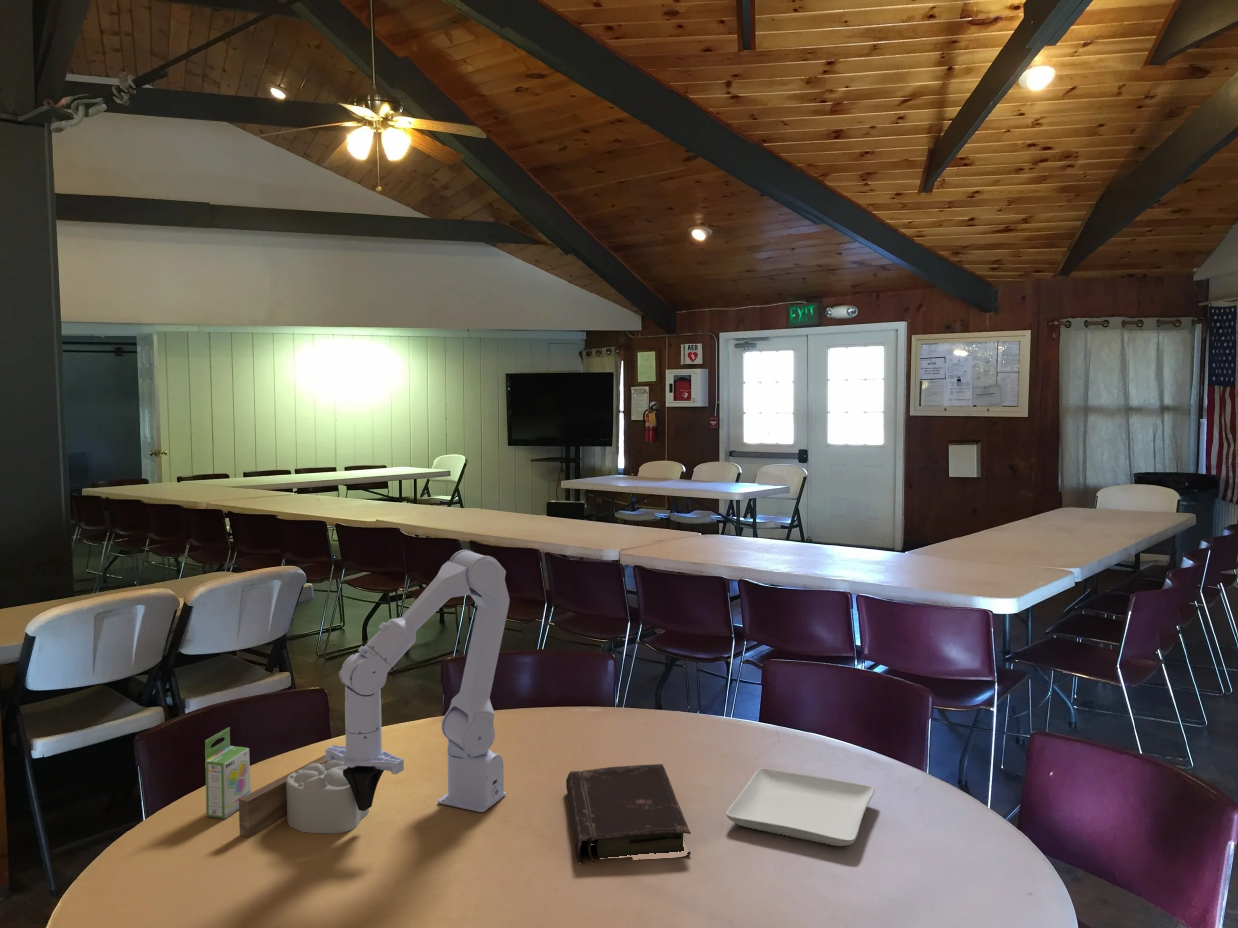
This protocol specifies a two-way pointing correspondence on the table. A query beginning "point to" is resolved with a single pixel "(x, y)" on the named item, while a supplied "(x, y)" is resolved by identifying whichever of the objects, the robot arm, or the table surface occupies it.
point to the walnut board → (266, 804)
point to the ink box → (225, 776)
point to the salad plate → (802, 806)
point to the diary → (625, 811)
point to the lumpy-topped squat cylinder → (322, 800)
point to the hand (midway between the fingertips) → (365, 807)
